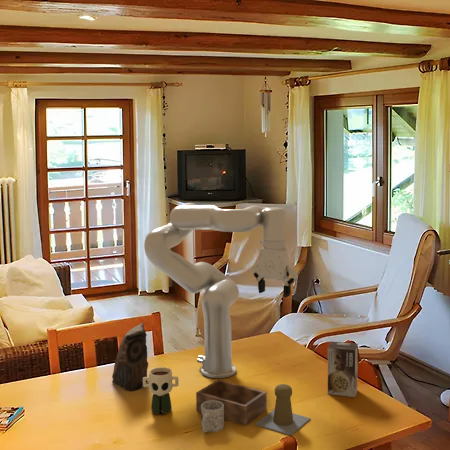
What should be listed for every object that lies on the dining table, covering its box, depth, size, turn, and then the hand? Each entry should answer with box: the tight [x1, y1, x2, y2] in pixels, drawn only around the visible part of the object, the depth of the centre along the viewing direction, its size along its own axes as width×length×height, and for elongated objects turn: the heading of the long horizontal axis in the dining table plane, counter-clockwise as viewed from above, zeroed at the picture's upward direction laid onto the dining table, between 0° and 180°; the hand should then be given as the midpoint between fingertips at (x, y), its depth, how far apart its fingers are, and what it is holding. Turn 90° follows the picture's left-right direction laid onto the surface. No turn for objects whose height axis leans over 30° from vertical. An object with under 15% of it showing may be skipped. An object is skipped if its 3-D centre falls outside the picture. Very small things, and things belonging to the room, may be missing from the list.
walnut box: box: [195, 378, 268, 427], centre depth 197 cm, size 18×12×6 cm, turn 56°
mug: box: [200, 401, 225, 433], centre depth 185 cm, size 10×7×7 cm
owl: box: [111, 322, 149, 392], centre depth 216 cm, size 13×13×20 cm
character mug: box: [142, 366, 180, 415], centre depth 196 cm, size 11×7×13 cm, turn 91°
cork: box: [273, 383, 293, 426], centre depth 188 cm, size 6×6×11 cm
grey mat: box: [254, 408, 311, 437], centre depth 189 cm, size 12×12×1 cm
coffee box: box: [327, 340, 359, 398], centre depth 208 cm, size 9×6×16 cm
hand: (274, 294), depth 215 cm, fingers open, 9 cm apart
